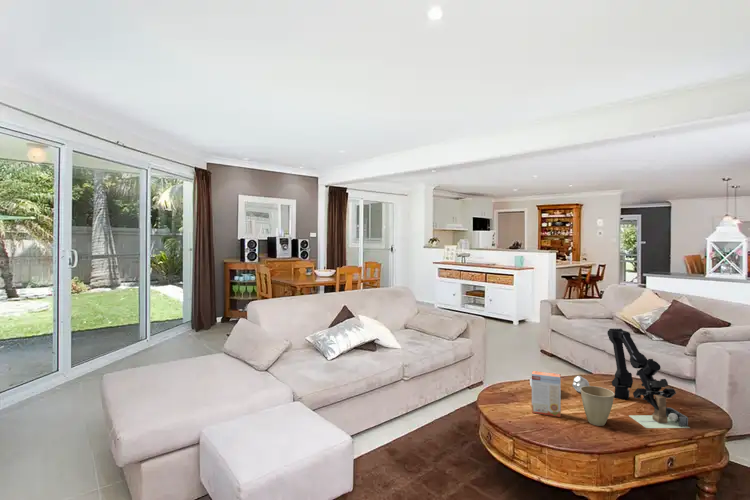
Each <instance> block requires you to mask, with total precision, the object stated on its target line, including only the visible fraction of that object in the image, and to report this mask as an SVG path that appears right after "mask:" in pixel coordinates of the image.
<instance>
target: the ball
mask: <svg viewBox="0 0 750 500" xmlns="http://www.w3.org/2000/svg"><path fill="white" fill-rule="evenodd" d="M668 418H669V419H670V420H671V421H673V422H676V421H677V420H678V416H677V415H676V414H675V413H670V414H669V415H668Z"/></svg>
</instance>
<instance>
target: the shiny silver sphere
mask: <svg viewBox="0 0 750 500" xmlns="http://www.w3.org/2000/svg"><path fill="white" fill-rule="evenodd" d="M583 386H590V382H589V381H588V379H586V378H584V377H582V375H576V376H575V377H574V378H573V382H572V387H573V389H575V391H576V392H578V393H580V394H581V387H583Z"/></svg>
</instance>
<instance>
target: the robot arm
mask: <svg viewBox="0 0 750 500" xmlns="http://www.w3.org/2000/svg"><path fill="white" fill-rule="evenodd" d="M606 333H607V336H608V340H609V341H610V343H611V344H612V346H613V351H614V358H615V364H616V371H615V373H614V378H613V379H612V381H611V385H612V387H614V399H615V398H616V399H619V400H620V399H621V400H625V401H627V400H628V399H630V389H632V387H633V384H634V383H633V382H634V379H633V375H632V372H629V369H628V368H627V367H628V366H627V363H626V356H625V350H624V348H625V349H626V351H627V353H628V355H629V362H630V365H631V367H632V368H633V369H638V370H637V371H636V372H635V373H636V374H635V375H636V376H637V377H639V378H640V380H641V384H640V385H641V386H642V388H636V389H635V390H634V391H633V392H632V396H633V398H634V399H641V397H642V396H643V397H642V400H644V401H646V402H647V403H649V404H650V405H651V406H652V407H653V408H655V409H656V410H659V408H658V405H657V403H656V401H655V395H662V396H664V397H666V399H671V398H673V396H675V395H676V394H677V392H676V390H675V389H674V388H672V387H671V388H669V387H668V388H667V387H666V386H668V385H669V383H668V381H667V379H666V378H662V379H660V380H657V379H655V378H654V377H653V376H655V375H656V374H657V373H658V372H659V371H660V370H661V365H660V364H659V362H657V361H656V360H654V359H653V358H647V357H646V356H645V355H644V354H643V353H641V352H640V351H639V348H638V346H637V345H636V343H635V342H634V340H633V338H632V336H631V333H630V332H629V331H627V330H623V328H609V329H608V330H607V332H606ZM663 388H664V389H663ZM662 389H663V390H662ZM667 408H668V406H666V410H667Z"/></svg>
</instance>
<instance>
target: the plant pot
mask: <svg viewBox="0 0 750 500" xmlns="http://www.w3.org/2000/svg"><path fill="white" fill-rule="evenodd" d="M580 395H581V401H582V406H583V410H584V414H585V417H586V419H587V422H588V423H589V424H591V425H593V426H598V427H601V426H605V424H606V423H607V421H608V418H609V416H610V414H611V410H612V408H613V404H614V400H615V397H614V396H615V391H612V390H610V389H608V388H605V387H601V386H594V385H593V386H592V385H589V386H583V387H581V393H580Z"/></svg>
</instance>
